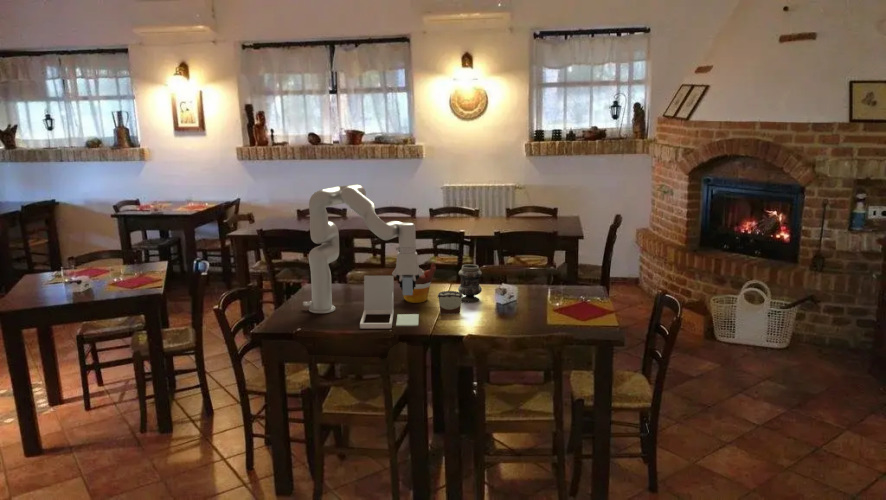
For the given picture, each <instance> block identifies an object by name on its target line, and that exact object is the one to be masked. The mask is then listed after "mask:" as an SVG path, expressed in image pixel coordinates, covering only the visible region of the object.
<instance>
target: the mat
mask: <svg viewBox="0 0 886 500" xmlns="http://www.w3.org/2000/svg"><path fill="white" fill-rule="evenodd" d="M396 315H397V317H396V323H395V326H396V327H419V316H420V314H419V313H418V314H417V313H411V314H410V313H406V314H405V313H403V314H402V313H401V314H399V313H397V314H396Z"/></svg>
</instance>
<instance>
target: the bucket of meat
mask: <svg viewBox="0 0 886 500" xmlns="http://www.w3.org/2000/svg"><path fill="white" fill-rule="evenodd" d="M436 271H437V266H436V263H435V262H432V263H431V265H430V269H428V270H427V269H426V270H425V271H424V270H422V272H423V275H421V276H420V277H419V278H418V279H417V280H416V287H414V290H413V295H403V300H405V301H406V302H407V303H412V304H420V303H425V302H426V301H427V300H428V297H429V292H430V287H431V283H432V279H433V277H434V274H435V272H436ZM418 274H419V273H418ZM399 276H400V275H399ZM401 291H402V292H403V290H401Z"/></svg>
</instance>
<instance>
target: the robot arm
mask: <svg viewBox="0 0 886 500" xmlns="http://www.w3.org/2000/svg"><path fill="white" fill-rule="evenodd" d="M341 204H345V205H346V206H348V207H349V209H351V210H352V211H354V212H355V213H356V214H357V215H359V216H360V217H361V218H362V220H363V222H364V224H365V225H366V227H367V229H368V230H369V231H370V232H372V233H373V234H374V235H375V236H377V237H378V238H379V239H380V240H383V241H389V240H392V239H395V238H398V247H395V251H397V254H396V263H395V268H394V270H393V271H392V273H391V276H394V277H395V278H396V279H397V280H399V281H398V282H399V288H401V291H402V290H403V286H402V277H403V275H412V276H413V290H414V287H416V280H417V279H418V278H419V277H420V276H421V275H423V272H422V271H423V270H422V269H421V268H420V267H419V257H418V252H417V250H416V237H417V236H416V224H415V223H413V222H402V221H398V220H391V221H388V222H385V221H384V220H383V219H381V218H380V217H379V216H378V215H377V213H376V210H375V208H376V204H375V203H374V202H373V201H372V200H370V199H369V198H368V197H367V192H366V189H365V188H364V186H363V185H360V184H357V183H356V184H350V185H339V186H332V187H326V188H322V189H319V190H317V191H315V192H314V193H313V194H311V195H310V198H309V200H308V210H309V211H308V212H309V231H310V233H309V234H310V239H311V241H312V242H313V243H314V244H317V245H319V246H314V248H312V249H311V250H310V251H309V253H308V264H309V267H310V268H309V270H310V282H311V283H310V284H311V300H310V301H303V302H302V306H304V307H309V308H308V312H310V313H311V314H312V313H313V314H329V313H332V312H334V311H336V306H335V305H334V304H333V299H332V298H333V296H332V292H333V291H332V274H331V269H330V266H329V264H330V263H333V262H335V261H336V260H338V258H339V256H340V236H339V235H340V234H339V229H338V226H337V224H335V223H334V222H333V221H330V220H329V214H328V211H327V209H326V208H329V207H333V206H337V205H341ZM418 273H419V274H418ZM399 275H400V276H399Z"/></svg>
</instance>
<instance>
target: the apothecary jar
mask: <svg viewBox="0 0 886 500" xmlns="http://www.w3.org/2000/svg"><path fill="white" fill-rule="evenodd" d="M458 276H460V285H459V286H458V287H457V290H458V291H457V292H460V293H462V295H463V298H462V300H461V303H462V302H463V303H468V304H469V303H470V304H471V303H472V304H473V303H477V302H479V301H480V298H479V297H477V296H478V295H480V294H481V293H482V291H483V289H482V286H481V285H480V278H481V277H482V271H481V269H480V267H479V265H478V264H462V266H461V269H460V270H459V271H458Z"/></svg>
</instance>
